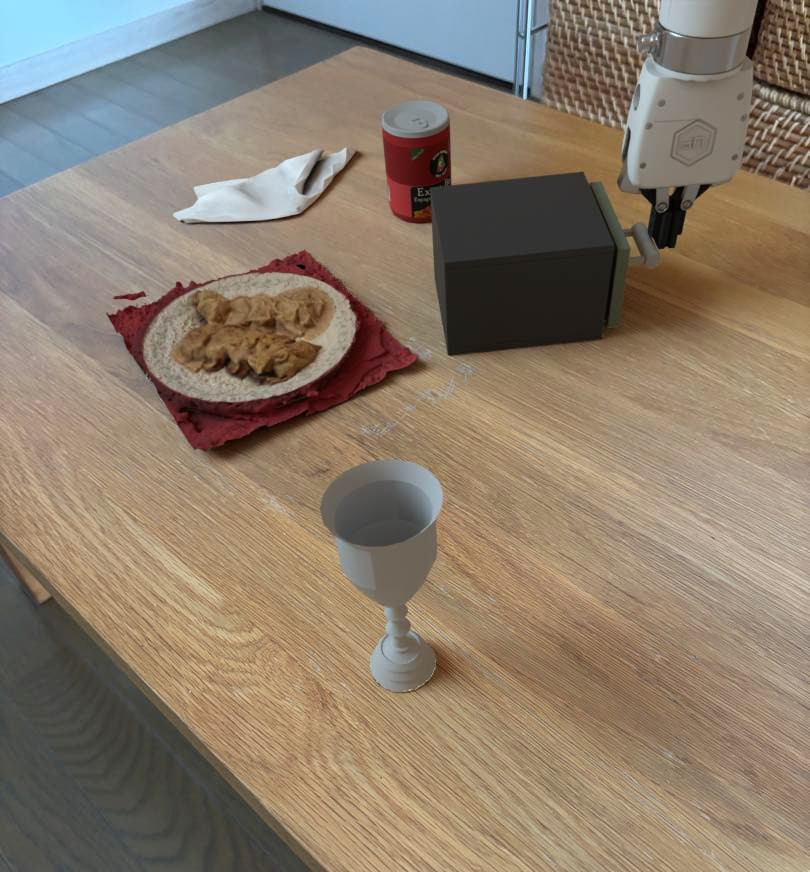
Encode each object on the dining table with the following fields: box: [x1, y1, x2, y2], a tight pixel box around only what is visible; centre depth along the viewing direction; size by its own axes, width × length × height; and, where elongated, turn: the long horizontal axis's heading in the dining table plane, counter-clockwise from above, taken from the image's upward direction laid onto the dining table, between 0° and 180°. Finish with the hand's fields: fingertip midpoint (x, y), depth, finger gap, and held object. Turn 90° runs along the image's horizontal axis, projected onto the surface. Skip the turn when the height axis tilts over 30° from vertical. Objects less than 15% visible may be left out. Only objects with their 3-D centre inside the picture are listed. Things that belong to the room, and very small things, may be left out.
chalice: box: [319, 458, 444, 692], centre depth 57 cm, size 7×7×18 cm
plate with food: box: [105, 248, 418, 453], centre depth 88 cm, size 24×26×4 cm
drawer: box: [589, 180, 662, 329], centre depth 87 cm, size 19×12×9 cm, turn 94°
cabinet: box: [430, 171, 615, 356], centre depth 87 cm, size 16×14×11 cm
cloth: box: [172, 146, 358, 224], centre depth 109 cm, size 26×14×2 cm, turn 113°
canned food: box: [381, 100, 452, 224], centre depth 101 cm, size 8×8×11 cm
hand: (662, 241), depth 86 cm, fingers closed
